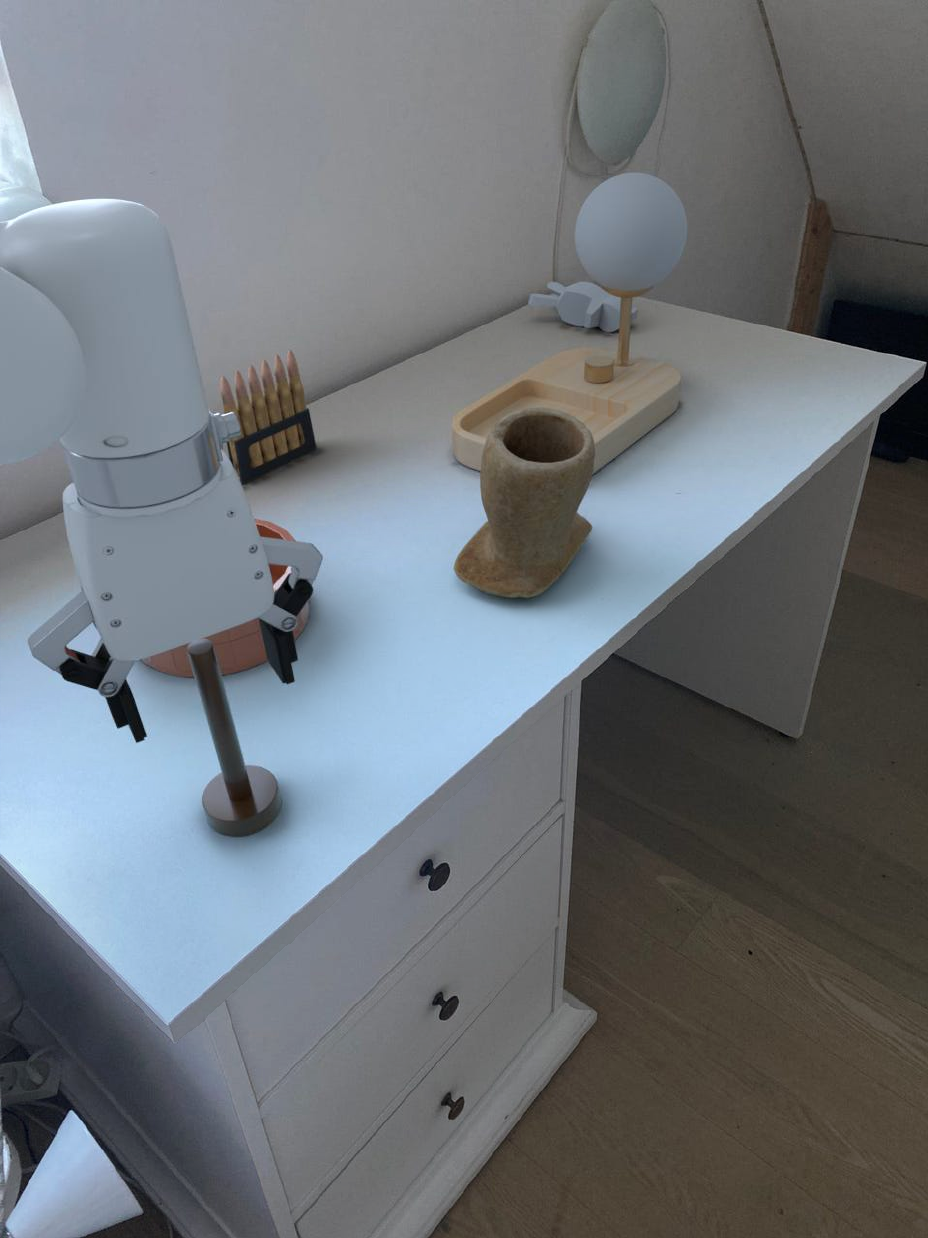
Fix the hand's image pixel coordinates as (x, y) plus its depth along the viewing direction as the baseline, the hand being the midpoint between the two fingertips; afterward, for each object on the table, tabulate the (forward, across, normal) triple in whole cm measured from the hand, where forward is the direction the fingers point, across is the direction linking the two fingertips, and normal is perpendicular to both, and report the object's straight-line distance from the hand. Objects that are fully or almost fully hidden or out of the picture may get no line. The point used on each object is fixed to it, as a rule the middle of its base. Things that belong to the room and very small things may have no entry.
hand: (210, 699), depth 60 cm
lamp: (+10, -55, -36) cm, 67 cm away
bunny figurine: (+10, -75, -62) cm, 98 cm away
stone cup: (+10, -34, -14) cm, 38 cm away
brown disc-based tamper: (+10, 0, 0) cm, 10 cm away
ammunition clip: (+10, -21, -47) cm, 53 cm away
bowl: (+10, -6, -22) cm, 25 cm away
